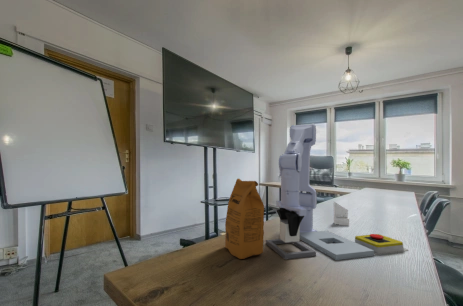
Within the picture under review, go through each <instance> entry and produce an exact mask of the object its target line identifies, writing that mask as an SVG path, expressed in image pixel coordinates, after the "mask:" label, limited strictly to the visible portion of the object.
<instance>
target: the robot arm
mask: <svg viewBox="0 0 463 306" xmlns="http://www.w3.org/2000/svg"><path fill="white" fill-rule="evenodd" d="M289 137H290V140H291V141H290V142H288V144H287V146H286V149H284V150H285V151H284V153H283V154H282V155H280V156H279V158H278V168H279V176H280V200H276V203H275V205H276V207H278V208H280V209H276V213H277V214H278V217H279V221H280V220H288V226H289V234H290V236H297V232H298V228H299V225H300V233H303V232H317V231H318V230H317V229H315V228H314V225H313V224H314V219H313V218H314V216H313V215H314V213H313V211H314V210H315V209H316V208H317V204H318V203H317V202H318V201H317V200H318V196H317V191H316V189H315V188H314V187H313V186H311V184H310V172H311V171H310V170H311V164H310V163H311V162H310V161H311V159H310V158H311V149H312V146H314V145H316V142H317V128H316V124H315V123H310V124H295V125H294V124H292V125H290V126H289Z"/></svg>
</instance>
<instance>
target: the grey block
mask: <svg viewBox="0 0 463 306" xmlns="http://www.w3.org/2000/svg"><path fill="white" fill-rule="evenodd" d="M279 239H281V240H282V241H284V242H285V243H284V244H287V243H286V242H297V241H299V242H300V241H301V240H300V225H299V228H298V232H297V236H290V234H289V226H288V220H280V219H279Z"/></svg>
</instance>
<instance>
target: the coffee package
mask: <svg viewBox="0 0 463 306" xmlns="http://www.w3.org/2000/svg"><path fill="white" fill-rule="evenodd" d="M258 183H259V182H258V181H256V180H242V179H240V178H237V179H236V181H235V184H234V185H233V188H232V191H231V194H230V196H229V199H228V200H229V201H228V202H227V210H226V217H225V224H224V226H225V227H224V228H225V236H224V237H225V238H224V239H225V241H224V242H225V244H224V248H225V249H227V250H228V251H229V253H230V255H231V256H233V257H236V258H238V259H239V260H244V259H247V258H249V257H252V256H258V255H261V254H263V253H264V236H265V235H264V234H265V232H264V227H265V226H264V225H265V216H264V215H265V205H264V202H263V200H262V197H261V196H260V193H259V192H258V189H257V187H258V186H259V184H258Z"/></svg>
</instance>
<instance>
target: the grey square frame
mask: <svg viewBox="0 0 463 306" xmlns="http://www.w3.org/2000/svg"><path fill="white" fill-rule="evenodd" d="M265 244H266V245H267V246H268V247H269V248H270V249H272V250H273V251H274V252H276V254H278V255H280V256H281V258H282V259H284V260H290V259H292V260H293V259H299V258H300V259H301V258H309V257H317V251H316V250H315V249H312V248H310V247H309V246H308V245H306V244H304V243H302V242H300V241H297V242H286V243H285V242H284V241H282V240H281V239H280V238H276V239H275V238H274V239H266V240H265ZM281 244H293V246H294V245H295V246H296V247H298V248H299V249H301V250H302V251H292V252H286V251H285V250H283V249H282V248H281V247H280V246H278V245H281Z"/></svg>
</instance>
